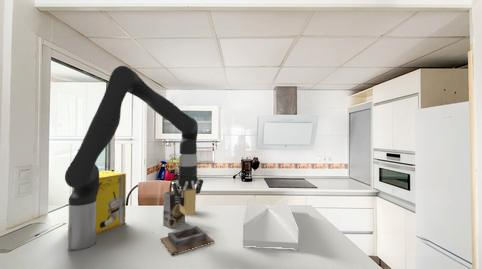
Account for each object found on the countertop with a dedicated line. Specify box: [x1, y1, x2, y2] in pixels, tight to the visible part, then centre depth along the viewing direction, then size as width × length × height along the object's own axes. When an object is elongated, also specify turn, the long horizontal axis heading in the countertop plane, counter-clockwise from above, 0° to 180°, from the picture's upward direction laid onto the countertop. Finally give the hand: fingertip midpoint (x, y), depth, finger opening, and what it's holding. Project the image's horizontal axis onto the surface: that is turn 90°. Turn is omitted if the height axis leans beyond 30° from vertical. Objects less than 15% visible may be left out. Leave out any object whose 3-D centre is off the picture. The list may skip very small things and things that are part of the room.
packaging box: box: [71, 170, 127, 235], centre depth 110 cm, size 16×16×25 cm
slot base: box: [160, 225, 215, 256], centre depth 96 cm, size 18×14×4 cm
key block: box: [180, 188, 197, 217], centre depth 96 cm, size 4×7×10 cm, turn 36°
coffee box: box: [162, 189, 186, 229], centre depth 114 cm, size 9×6×16 cm
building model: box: [242, 194, 299, 250], centre depth 114 cm, size 45×22×10 cm, turn 176°
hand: (187, 204), depth 96 cm, fingers closed on key block, 4 cm apart
